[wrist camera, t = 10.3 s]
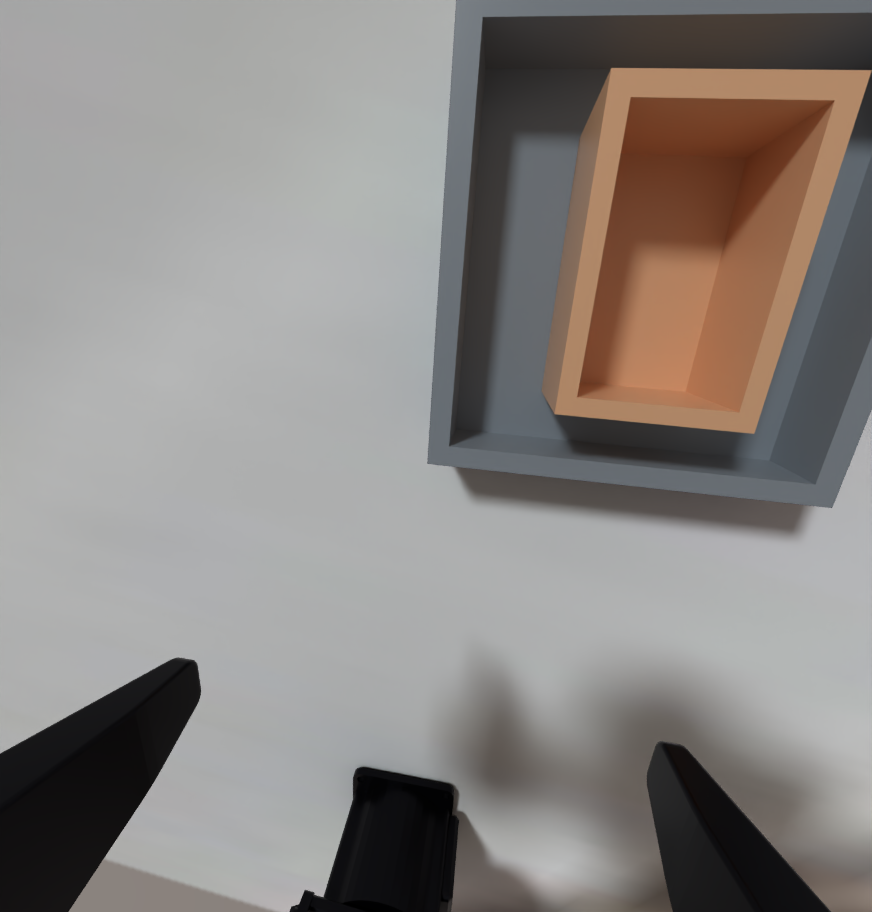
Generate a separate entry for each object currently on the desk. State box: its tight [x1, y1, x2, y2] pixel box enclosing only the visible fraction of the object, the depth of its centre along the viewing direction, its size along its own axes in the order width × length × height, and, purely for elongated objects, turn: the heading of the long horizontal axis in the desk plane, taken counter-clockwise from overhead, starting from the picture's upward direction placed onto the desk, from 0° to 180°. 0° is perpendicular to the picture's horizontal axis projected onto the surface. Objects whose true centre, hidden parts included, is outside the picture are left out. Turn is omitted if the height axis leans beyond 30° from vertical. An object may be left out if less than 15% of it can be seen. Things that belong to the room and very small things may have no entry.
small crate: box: [541, 68, 872, 434], centre depth 14 cm, size 6×9×4 cm, turn 176°
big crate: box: [427, 0, 872, 508], centre depth 15 cm, size 15×15×4 cm
